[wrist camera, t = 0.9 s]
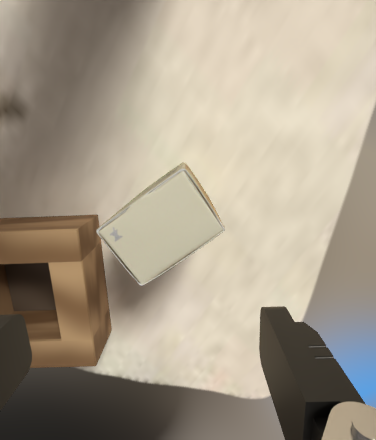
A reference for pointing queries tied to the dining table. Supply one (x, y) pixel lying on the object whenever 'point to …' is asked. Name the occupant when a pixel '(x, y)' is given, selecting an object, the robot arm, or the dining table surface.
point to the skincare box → (162, 225)
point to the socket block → (56, 287)
